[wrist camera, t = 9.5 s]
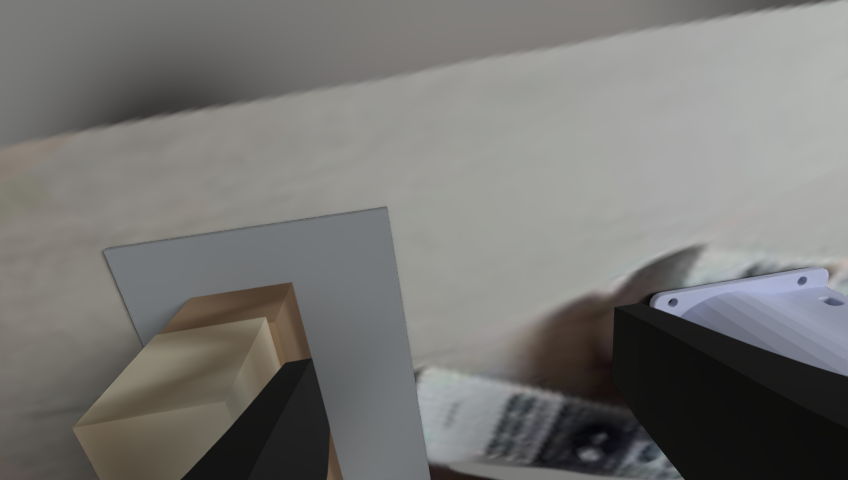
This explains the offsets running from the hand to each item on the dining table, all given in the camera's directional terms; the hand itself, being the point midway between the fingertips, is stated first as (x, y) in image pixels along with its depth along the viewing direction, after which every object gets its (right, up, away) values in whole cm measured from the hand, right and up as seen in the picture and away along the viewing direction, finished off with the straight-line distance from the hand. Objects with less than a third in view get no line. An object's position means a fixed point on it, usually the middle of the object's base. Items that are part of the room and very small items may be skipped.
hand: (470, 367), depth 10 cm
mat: (-8, -5, +11) cm, 15 cm away
